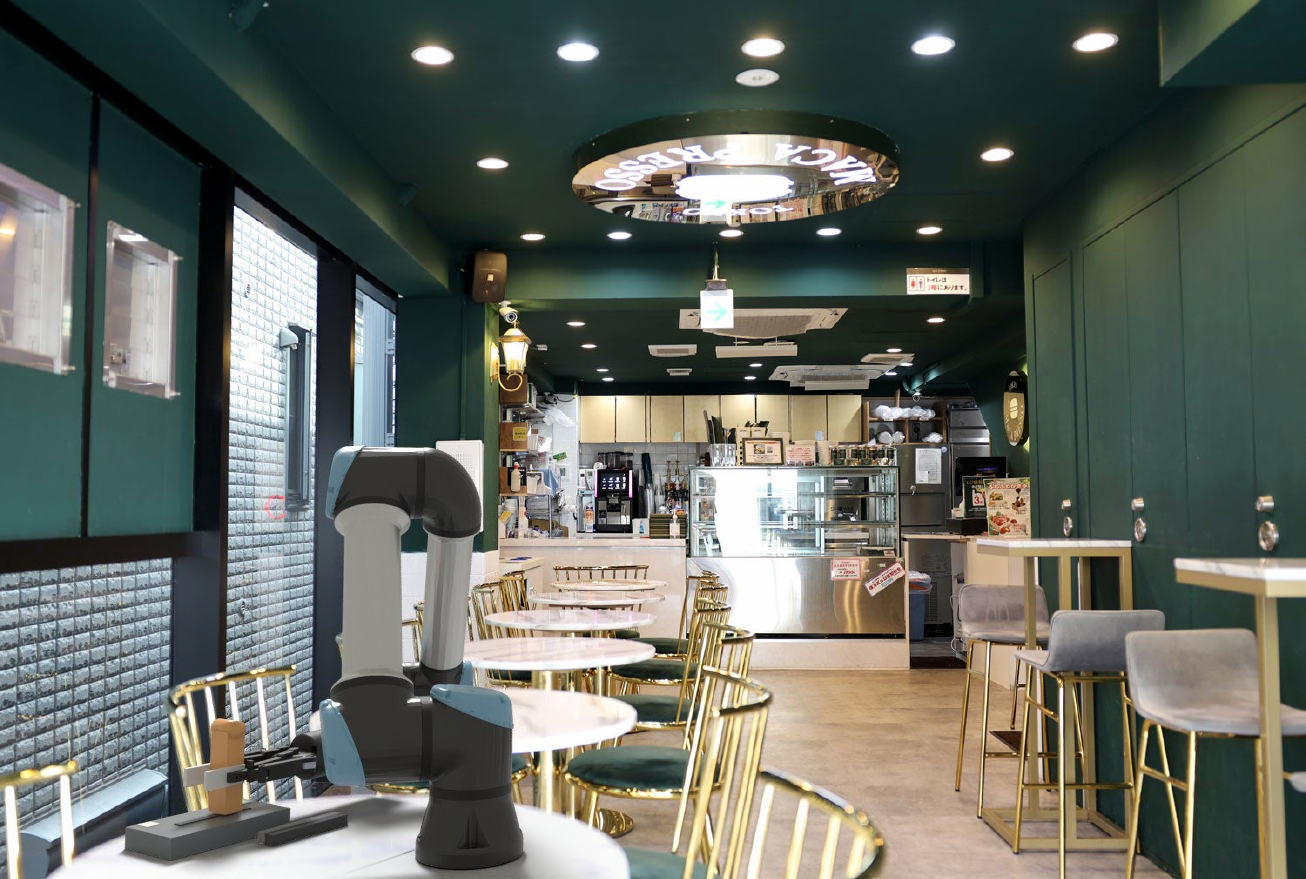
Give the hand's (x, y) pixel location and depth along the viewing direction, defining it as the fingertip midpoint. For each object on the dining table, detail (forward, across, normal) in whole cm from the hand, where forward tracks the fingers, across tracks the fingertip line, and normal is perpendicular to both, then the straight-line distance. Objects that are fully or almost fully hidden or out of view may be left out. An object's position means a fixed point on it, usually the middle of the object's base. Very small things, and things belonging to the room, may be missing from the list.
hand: (195, 779), depth 156 cm
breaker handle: (-5, 0, -6) cm, 8 cm away
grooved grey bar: (-12, -10, -9) cm, 18 cm away
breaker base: (-3, 0, -9) cm, 9 cm away
